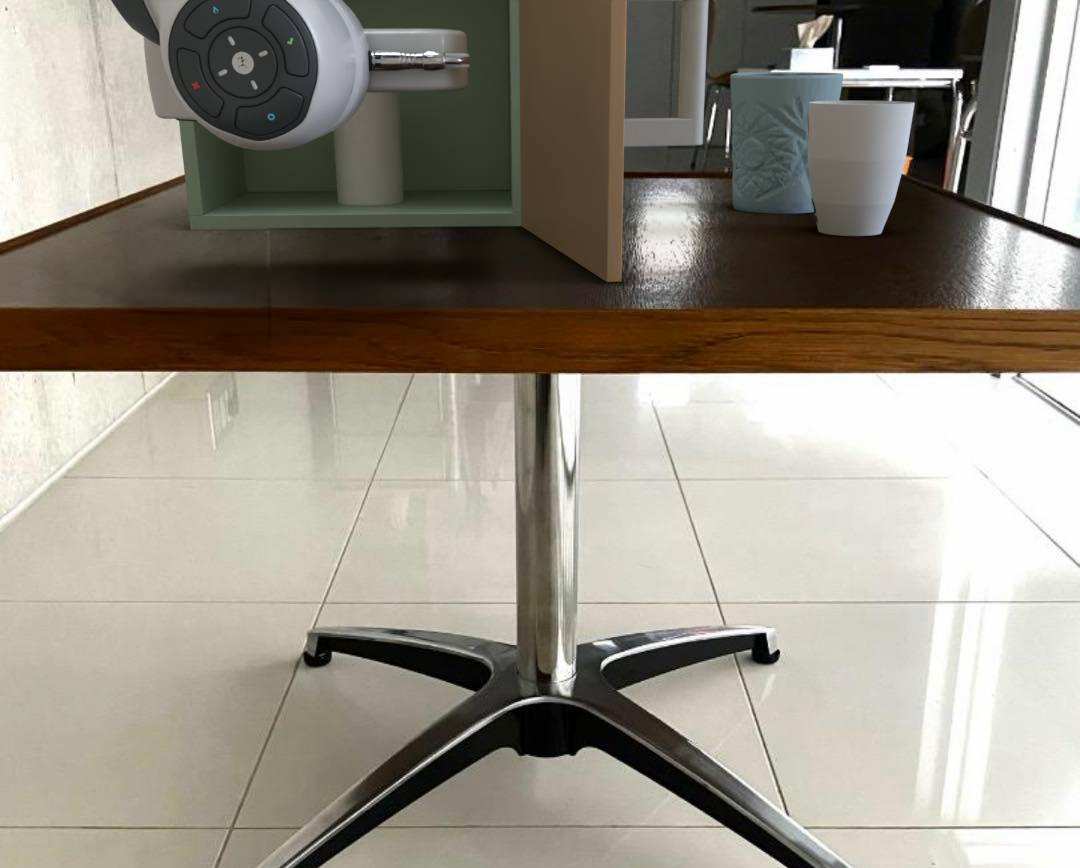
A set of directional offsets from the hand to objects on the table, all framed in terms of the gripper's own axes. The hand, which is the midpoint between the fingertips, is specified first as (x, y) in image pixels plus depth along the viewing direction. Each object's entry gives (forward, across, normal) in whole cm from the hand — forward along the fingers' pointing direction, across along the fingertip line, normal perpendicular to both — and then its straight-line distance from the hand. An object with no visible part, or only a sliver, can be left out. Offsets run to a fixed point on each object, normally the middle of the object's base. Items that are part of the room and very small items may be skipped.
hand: (324, 60), depth 85 cm
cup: (+10, -41, +13) cm, 44 cm away
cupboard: (+25, 0, +13) cm, 28 cm away
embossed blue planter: (+26, -38, +13) cm, 48 cm away
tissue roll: (+24, 0, +12) cm, 27 cm away
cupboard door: (0, -20, +13) cm, 24 cm away
